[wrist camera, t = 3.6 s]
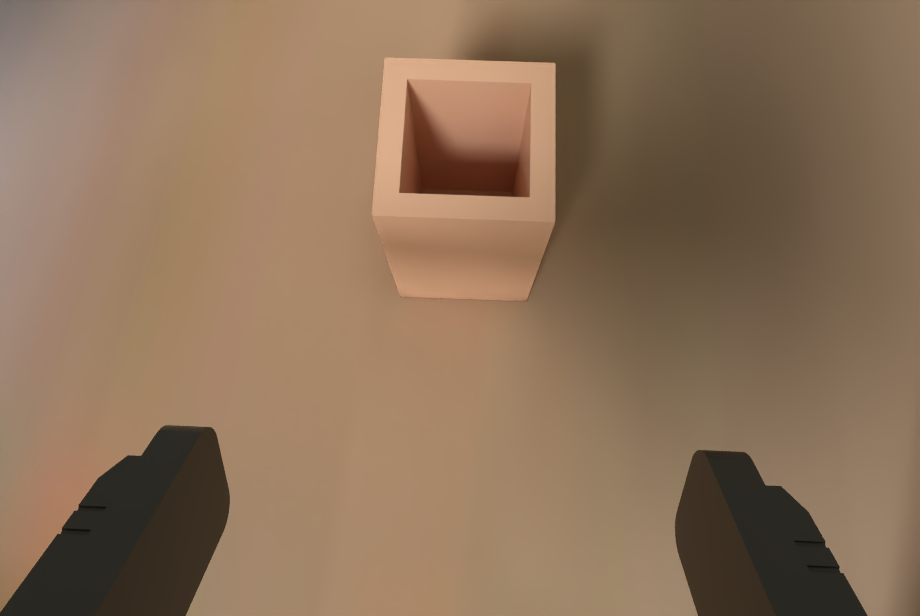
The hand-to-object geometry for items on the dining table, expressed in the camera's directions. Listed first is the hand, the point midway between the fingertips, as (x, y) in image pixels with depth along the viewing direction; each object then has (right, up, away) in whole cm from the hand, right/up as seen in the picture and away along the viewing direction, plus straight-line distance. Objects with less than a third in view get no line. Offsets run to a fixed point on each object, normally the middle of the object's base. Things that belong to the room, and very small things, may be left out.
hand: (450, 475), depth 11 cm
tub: (0, +6, +15) cm, 16 cm away
